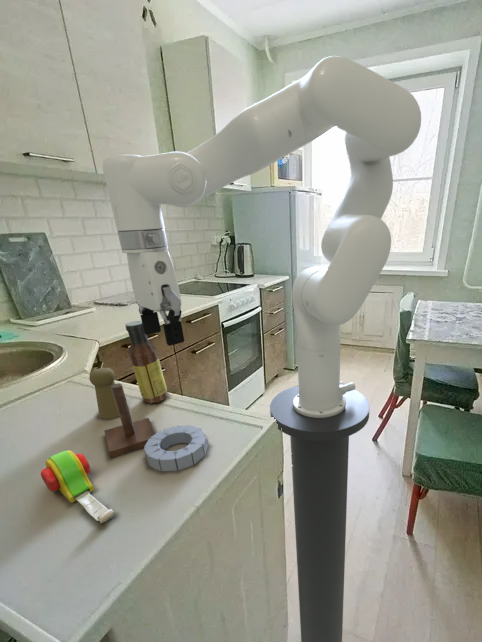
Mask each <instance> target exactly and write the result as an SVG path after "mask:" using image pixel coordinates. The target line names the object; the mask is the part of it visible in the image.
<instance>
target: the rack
mask: <svg viewBox="0 0 482 642" xmlns="http://www.w3.org/2000/svg"><path fill="white" fill-rule="evenodd" d="M111 390H112V393H113V396H114V400H115V403H116V406H117V410H118V413H119V416H118V417H119V419H120V423H121V425H118V426H115V427H111V428H108V429H105V430H104V435H105V440H106V444H107V449H108V450H107V451H108V453H109V457H110V459H113V458H116V457H120V456H122V455H125V454H128V453H131V452H134V451H137V450H142V449H144V446H145V445H146V443H147V441H148V440H149V439H150V437H152V436H153V435H155V434H156V433H157V432H156V431H155V429H154V426H153V424H152V422H151V419H150V418H149V417H145V418H142V419H139V420H135V421H133V419H132V415H131V411H130V409H129V403H128V400H127V398H126V394H125V390H124V386H123V384H122V383H115V384H114V385H112V386H111Z"/></svg>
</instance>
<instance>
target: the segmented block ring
mask: <svg viewBox="0 0 482 642" xmlns="http://www.w3.org/2000/svg"><path fill="white" fill-rule="evenodd" d="M155 433H156V434H155V435H153V436H152V437H150V439H149V440H148V441H147V443H146V445H145V446H144V448H143V451H144V453H145V454H144V455H145V456H146V457H145V458H146V460H147V462H148V463H147V464H148V466H149V467H150V468H152V469H154V470H156V471H160V472H177V471H182V470H185V469H187V468H190V467H193V466H194V465H196V464H197V463H198V462H200V461H201V460H202V459H203V458H205V456H206V454H207V452H208V448H209V444H208V439H207V434H206V433H205V431H204V430H203V429H202V428H201V427H197V426H194V425H191V424H188V425H187V424H186V425H185V424H184V425H174V426H171V427H168V428H164V429H161V430H160V431H157V432H155ZM177 444H188V445H186V446H185V447H183V448H180V449H176V450H167V449H169V448H170V447H172V446H175V445H177Z"/></svg>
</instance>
